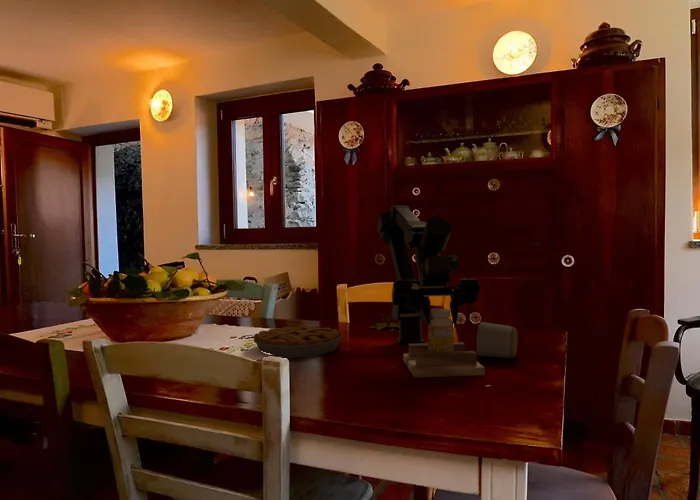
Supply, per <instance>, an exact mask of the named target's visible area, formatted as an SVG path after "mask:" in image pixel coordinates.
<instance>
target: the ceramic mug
mask: <svg viewBox="0 0 700 500" xmlns="http://www.w3.org/2000/svg"><path fill="white" fill-rule="evenodd" d="M518 338H519V337H518V330H517V328H516V327H513V326H511V325H505V324H497V323H489V322H485V321H481V322H480V323H479V325H478V327H477V333H476V353H477V356H479V357H486V358H487V357H488V358H500V359H513V358H515V357H516V356H517V352H518V351H517V350H518V341H519V339H518Z"/></svg>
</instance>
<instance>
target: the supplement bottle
mask: <svg viewBox="0 0 700 500" xmlns="http://www.w3.org/2000/svg"><path fill="white" fill-rule="evenodd" d="M450 316H451V311H450V308H443V307H441V308H440V307H434V308H430V317H431V318H429V321H430V323H429V325H427V343H428V352H453V351H454V323H453V321H452V318H450Z"/></svg>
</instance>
